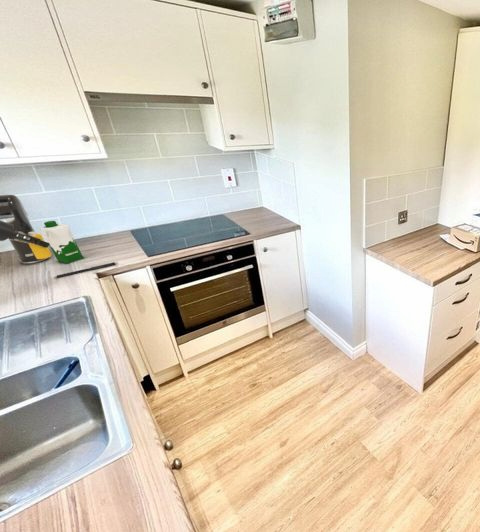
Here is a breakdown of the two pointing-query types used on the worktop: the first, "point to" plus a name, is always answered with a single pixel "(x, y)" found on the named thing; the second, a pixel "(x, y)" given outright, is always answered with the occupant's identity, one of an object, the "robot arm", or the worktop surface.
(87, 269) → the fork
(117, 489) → the worktop surface
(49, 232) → the milk carton
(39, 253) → the mustard bottle
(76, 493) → the worktop surface
